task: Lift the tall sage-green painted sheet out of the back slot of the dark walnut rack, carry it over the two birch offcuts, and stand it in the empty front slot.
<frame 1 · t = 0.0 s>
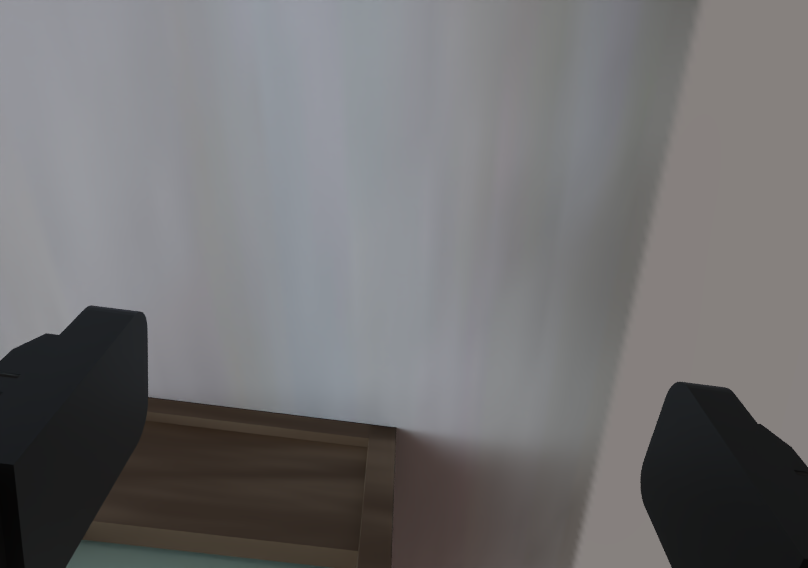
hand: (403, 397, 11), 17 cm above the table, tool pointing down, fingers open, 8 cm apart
rack: (228, 521, 35), on the table
tall sheet: (226, 463, 32), point 1 cm above the table, touching rack
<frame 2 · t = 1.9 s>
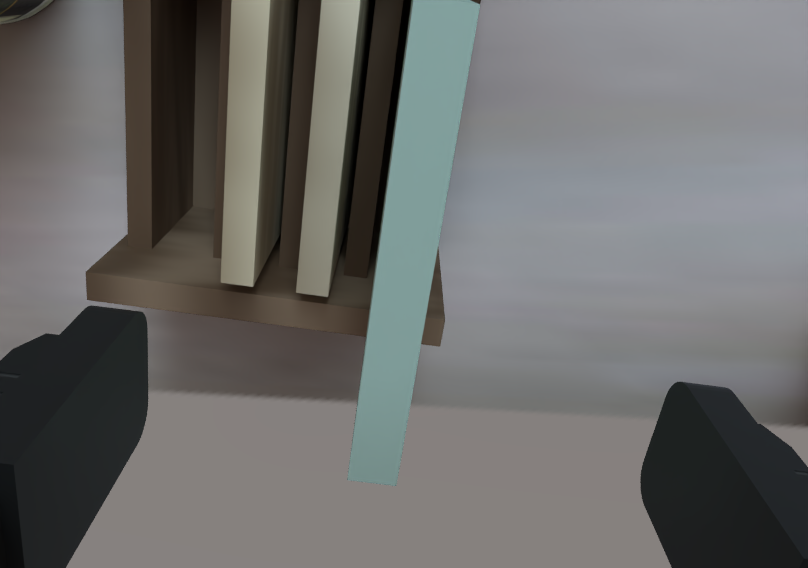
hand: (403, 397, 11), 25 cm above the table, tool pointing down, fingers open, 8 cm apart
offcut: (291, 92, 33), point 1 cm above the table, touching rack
rack: (315, 92, 34), on the table
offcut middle: (350, 101, 33), point 1 cm above the table, touching rack
tall sheet: (409, 110, 33), point 1 cm above the table, touching rack
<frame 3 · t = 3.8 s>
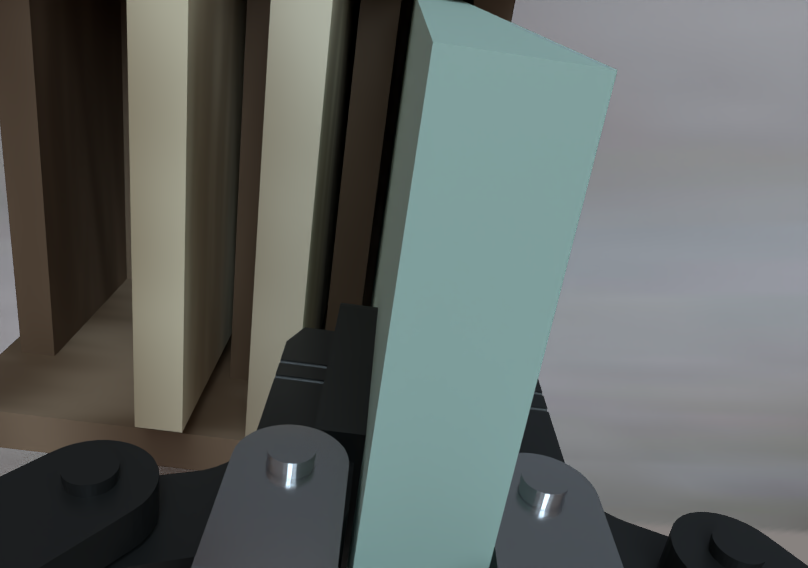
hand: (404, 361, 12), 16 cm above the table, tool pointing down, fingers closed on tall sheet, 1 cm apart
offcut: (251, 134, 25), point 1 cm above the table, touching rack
rack: (284, 132, 26), on the table
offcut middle: (329, 145, 25), point 1 cm above the table, touching rack
tall sheet: (407, 156, 25), point 1 cm above the table, touching gripper, rack
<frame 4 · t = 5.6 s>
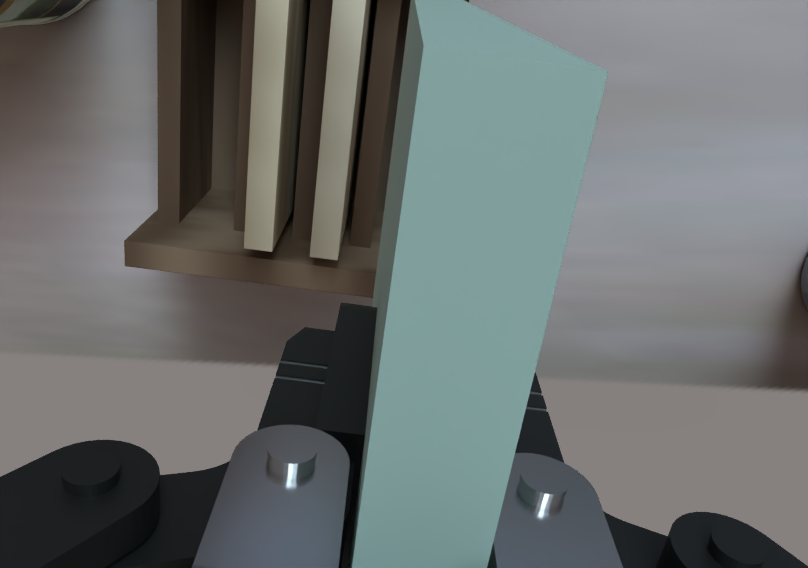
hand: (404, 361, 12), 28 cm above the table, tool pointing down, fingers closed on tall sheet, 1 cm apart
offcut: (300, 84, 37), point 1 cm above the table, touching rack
rack: (321, 84, 37), on the table
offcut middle: (353, 92, 37), point 1 cm above the table, touching rack
tall sheet: (407, 155, 25), point 14 cm above the table, touching gripper
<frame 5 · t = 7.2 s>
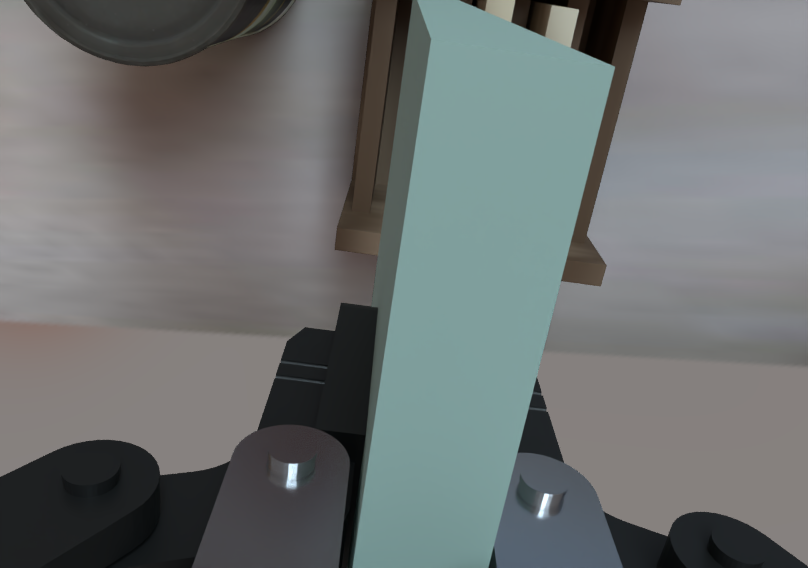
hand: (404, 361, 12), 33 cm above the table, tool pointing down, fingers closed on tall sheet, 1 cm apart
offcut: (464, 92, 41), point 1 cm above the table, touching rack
rack: (479, 91, 42), on the table
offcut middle: (510, 98, 41), point 1 cm above the table, touching rack
tall sheet: (408, 157, 25), point 19 cm above the table, touching gripper
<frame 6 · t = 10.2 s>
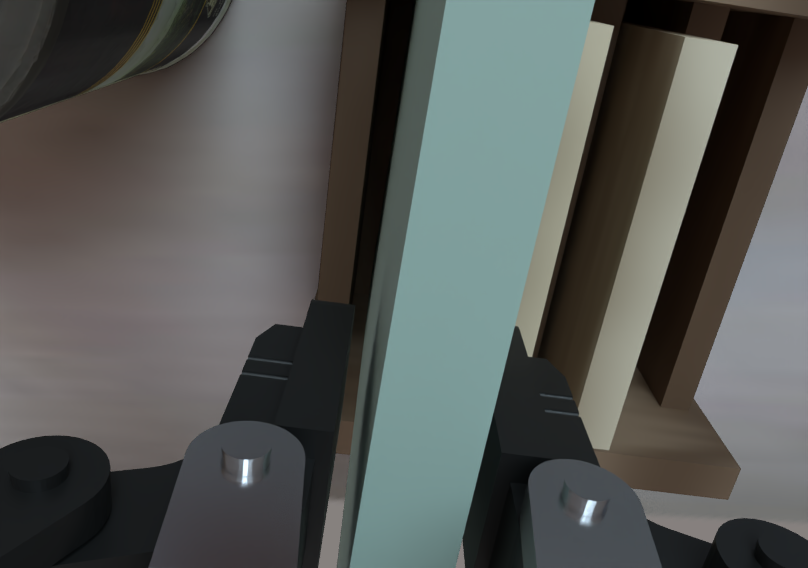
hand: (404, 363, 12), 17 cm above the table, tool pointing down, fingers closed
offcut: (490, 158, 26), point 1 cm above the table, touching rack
rack: (512, 156, 27), on the table
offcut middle: (562, 169, 27), point 1 cm above the table, touching rack
tall sheet: (407, 146, 26), point 1 cm above the table, touching rack
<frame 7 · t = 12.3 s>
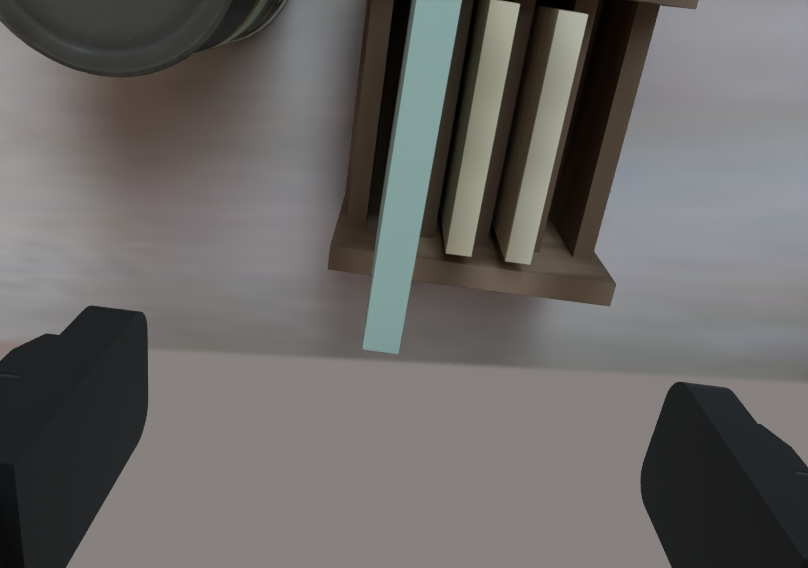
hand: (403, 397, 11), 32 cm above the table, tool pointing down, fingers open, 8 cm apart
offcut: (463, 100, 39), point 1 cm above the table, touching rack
rack: (479, 99, 40), on the table
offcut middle: (512, 107, 39), point 1 cm above the table, touching rack
tall sheet: (407, 91, 39), point 1 cm above the table, touching rack
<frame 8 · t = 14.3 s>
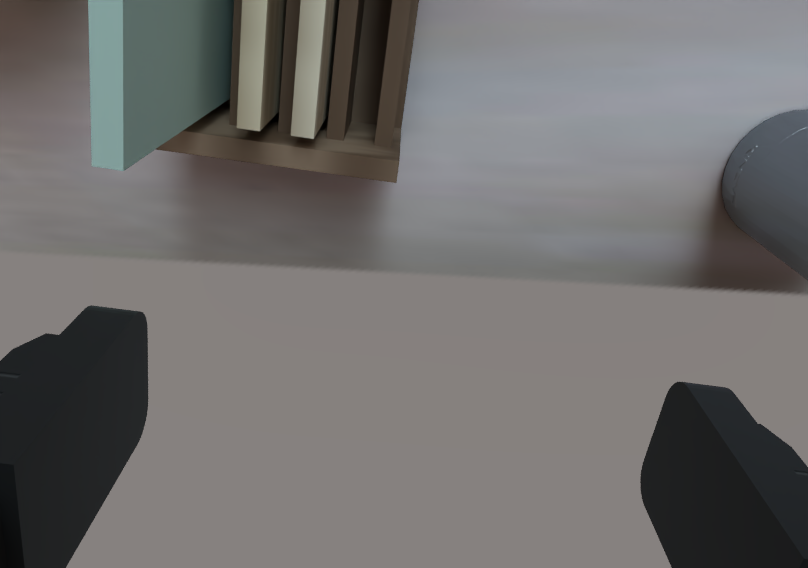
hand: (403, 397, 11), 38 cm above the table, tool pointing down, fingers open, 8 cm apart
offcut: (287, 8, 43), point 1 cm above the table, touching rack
rack: (305, 10, 44), on the table
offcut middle: (332, 15, 43), point 1 cm above the table, touching rack
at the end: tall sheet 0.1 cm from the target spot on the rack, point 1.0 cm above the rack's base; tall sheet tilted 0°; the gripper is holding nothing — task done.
